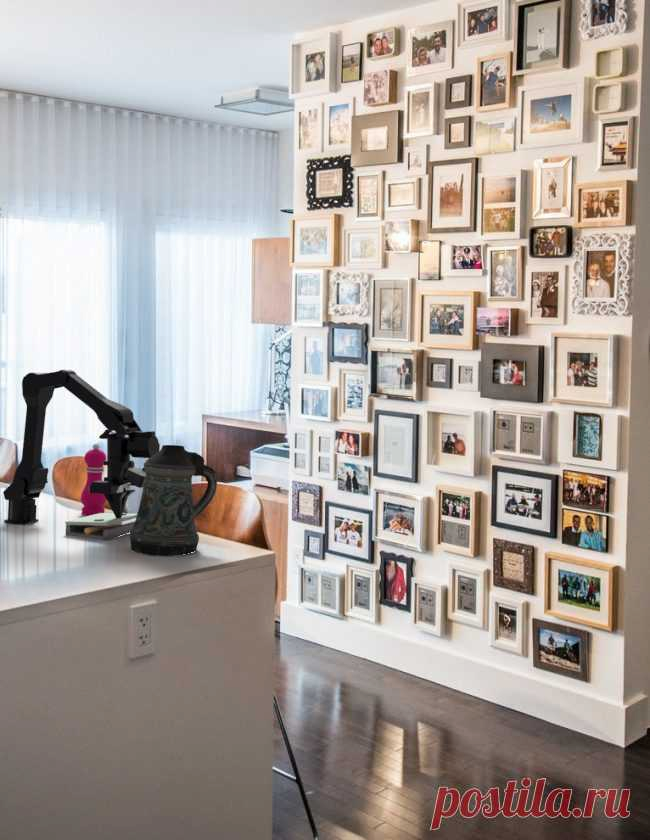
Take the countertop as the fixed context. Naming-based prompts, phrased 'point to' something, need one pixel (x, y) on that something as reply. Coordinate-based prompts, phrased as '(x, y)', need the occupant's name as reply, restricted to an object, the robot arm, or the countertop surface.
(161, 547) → the beer stein
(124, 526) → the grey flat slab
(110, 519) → the cover
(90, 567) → the countertop surface
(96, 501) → the pepper mill
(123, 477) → the robot arm
